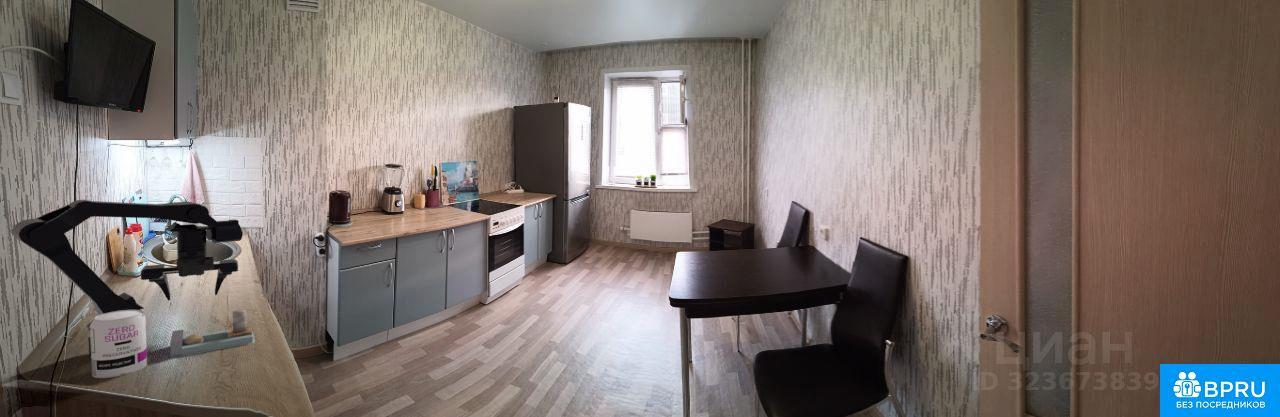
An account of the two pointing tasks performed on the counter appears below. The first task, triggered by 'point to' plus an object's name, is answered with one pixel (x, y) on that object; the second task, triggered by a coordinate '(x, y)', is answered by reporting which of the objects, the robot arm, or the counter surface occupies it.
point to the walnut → (193, 339)
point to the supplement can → (118, 343)
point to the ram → (239, 325)
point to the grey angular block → (177, 343)
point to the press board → (216, 343)
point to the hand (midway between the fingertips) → (193, 297)
